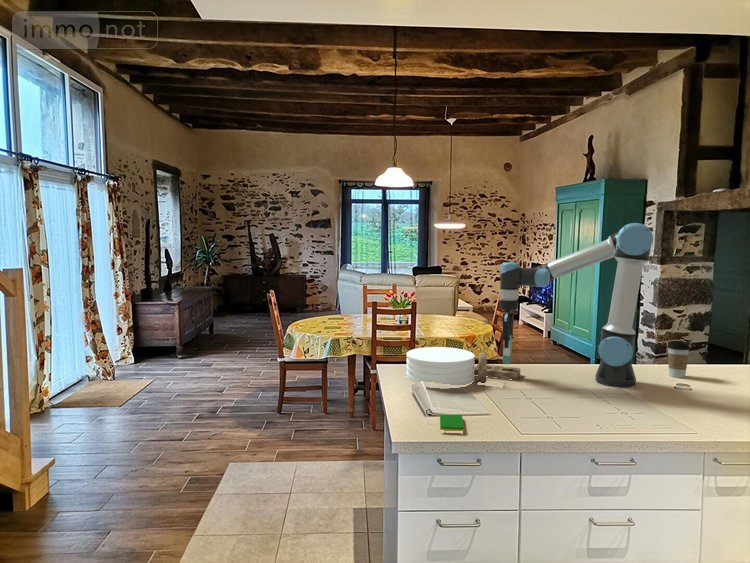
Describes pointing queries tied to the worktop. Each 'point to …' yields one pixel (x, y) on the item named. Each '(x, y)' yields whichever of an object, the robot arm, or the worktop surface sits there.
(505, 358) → the teal dowel
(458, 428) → the dish sponge
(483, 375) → the oak dowel
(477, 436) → the worktop surface
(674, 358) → the coffee cup
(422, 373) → the plate stack
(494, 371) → the walnut block
